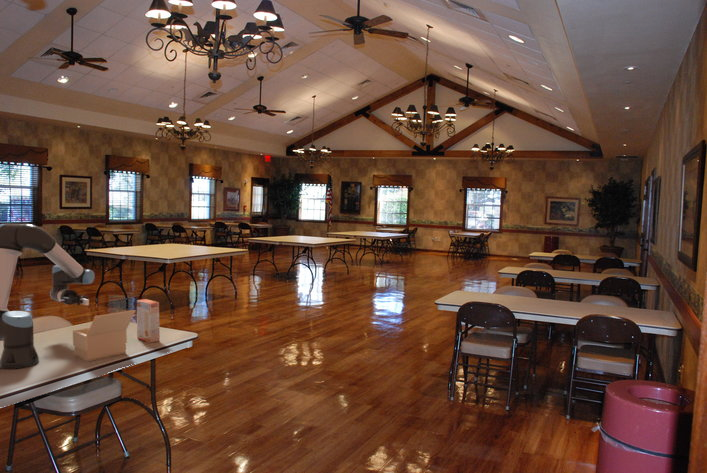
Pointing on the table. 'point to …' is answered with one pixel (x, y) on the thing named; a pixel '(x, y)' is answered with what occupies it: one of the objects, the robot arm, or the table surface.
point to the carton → (99, 344)
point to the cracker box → (148, 320)
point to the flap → (110, 322)
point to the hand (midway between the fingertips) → (87, 302)
